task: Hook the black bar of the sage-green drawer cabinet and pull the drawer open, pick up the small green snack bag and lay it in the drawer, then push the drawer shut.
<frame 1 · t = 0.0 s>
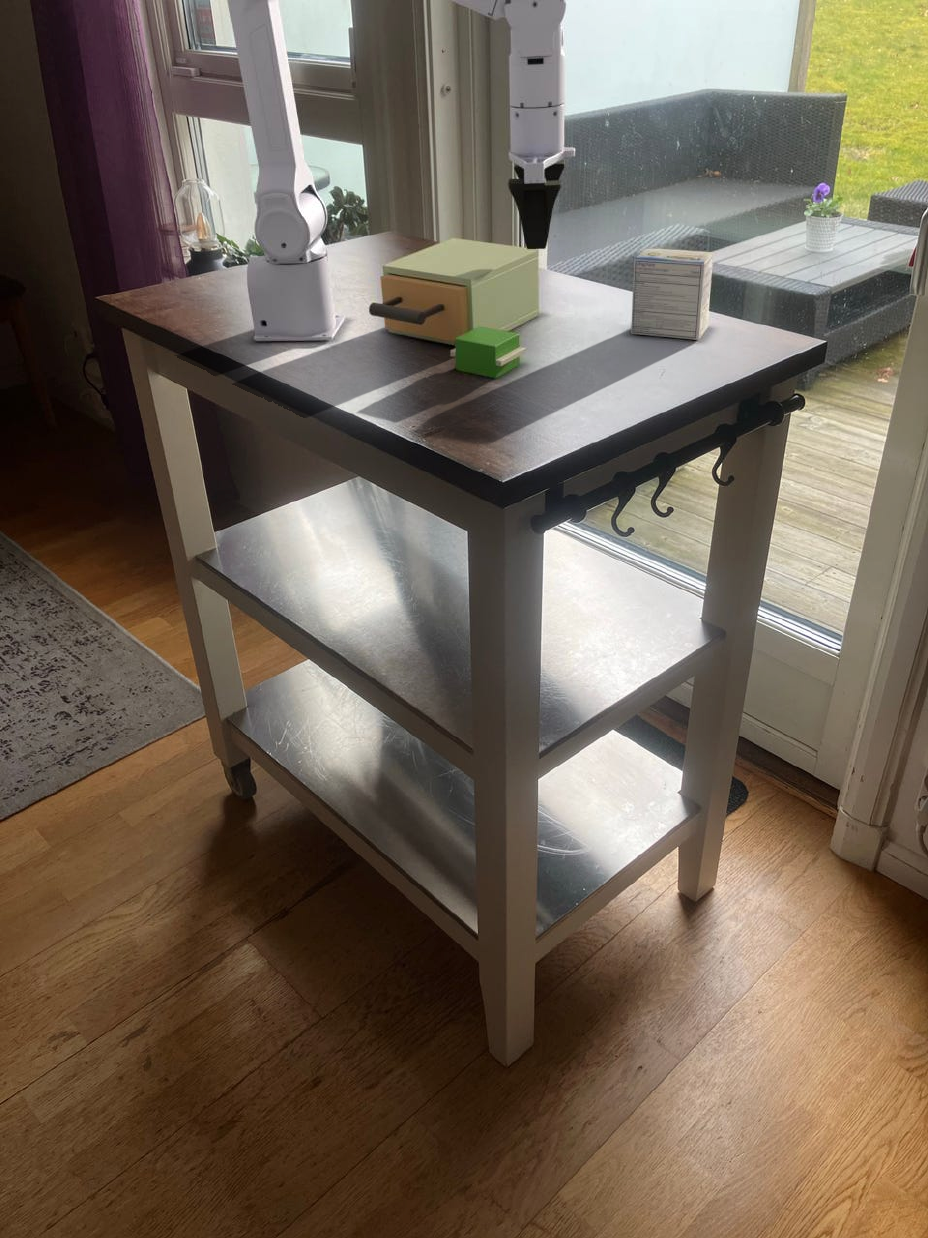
hand: (538, 239, 113), 10 cm above the table, tool pointing down, fingers open, 7 cm apart
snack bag: (488, 367, 109), on the table
medicine box: (668, 333, 115), on the table
drawer: (441, 300, 116), point 4 cm above the table, slide at 0.0 cm, touching cabinet
cabinet: (464, 323, 121), on the table
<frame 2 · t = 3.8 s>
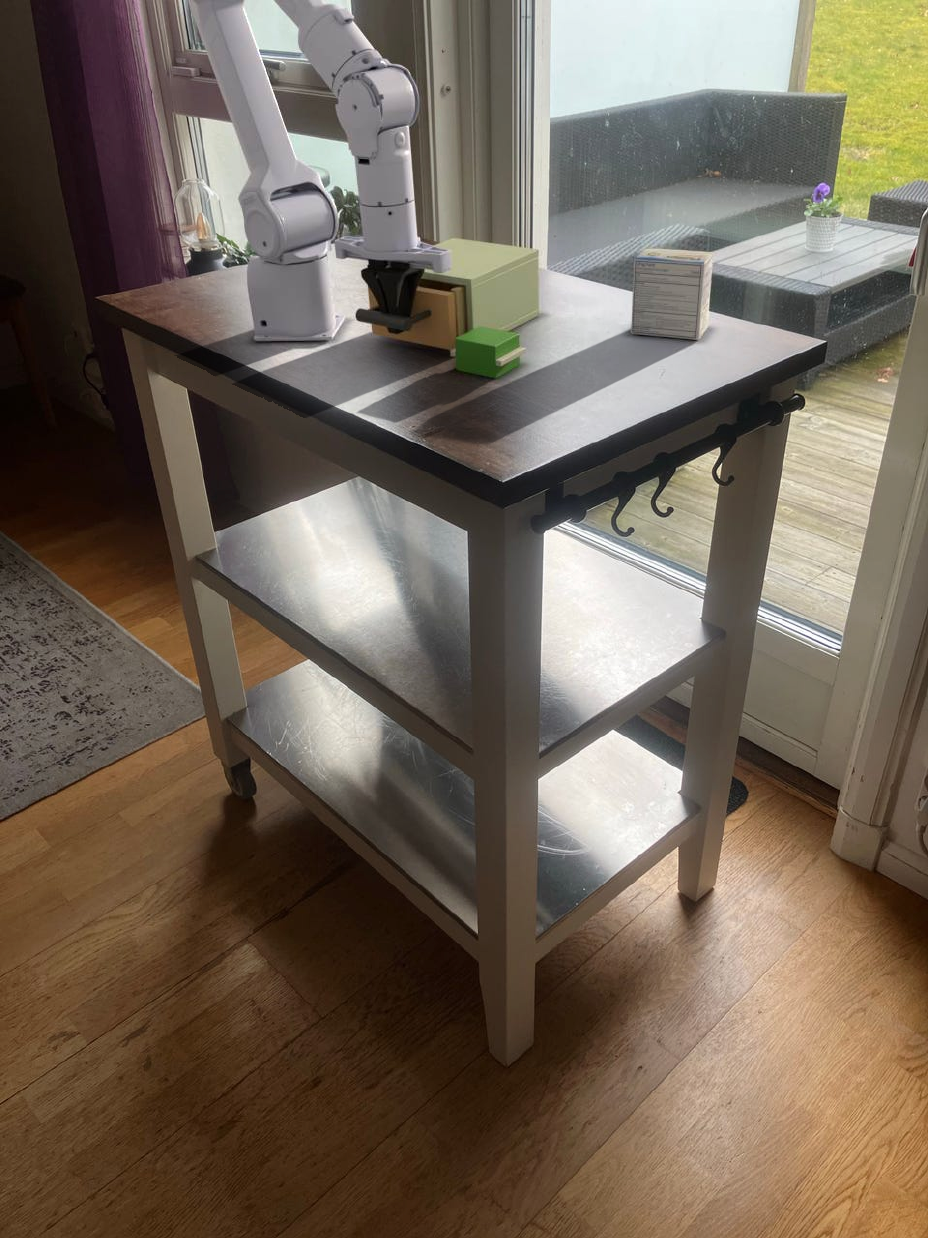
hand: (398, 330, 112), 3 cm above the table, tool pointing down, fingers closed, pressing on drawer
drawer: (429, 306, 115), point 4 cm above the table, slide at 2.3 cm, touching gripper
everything else where it was.
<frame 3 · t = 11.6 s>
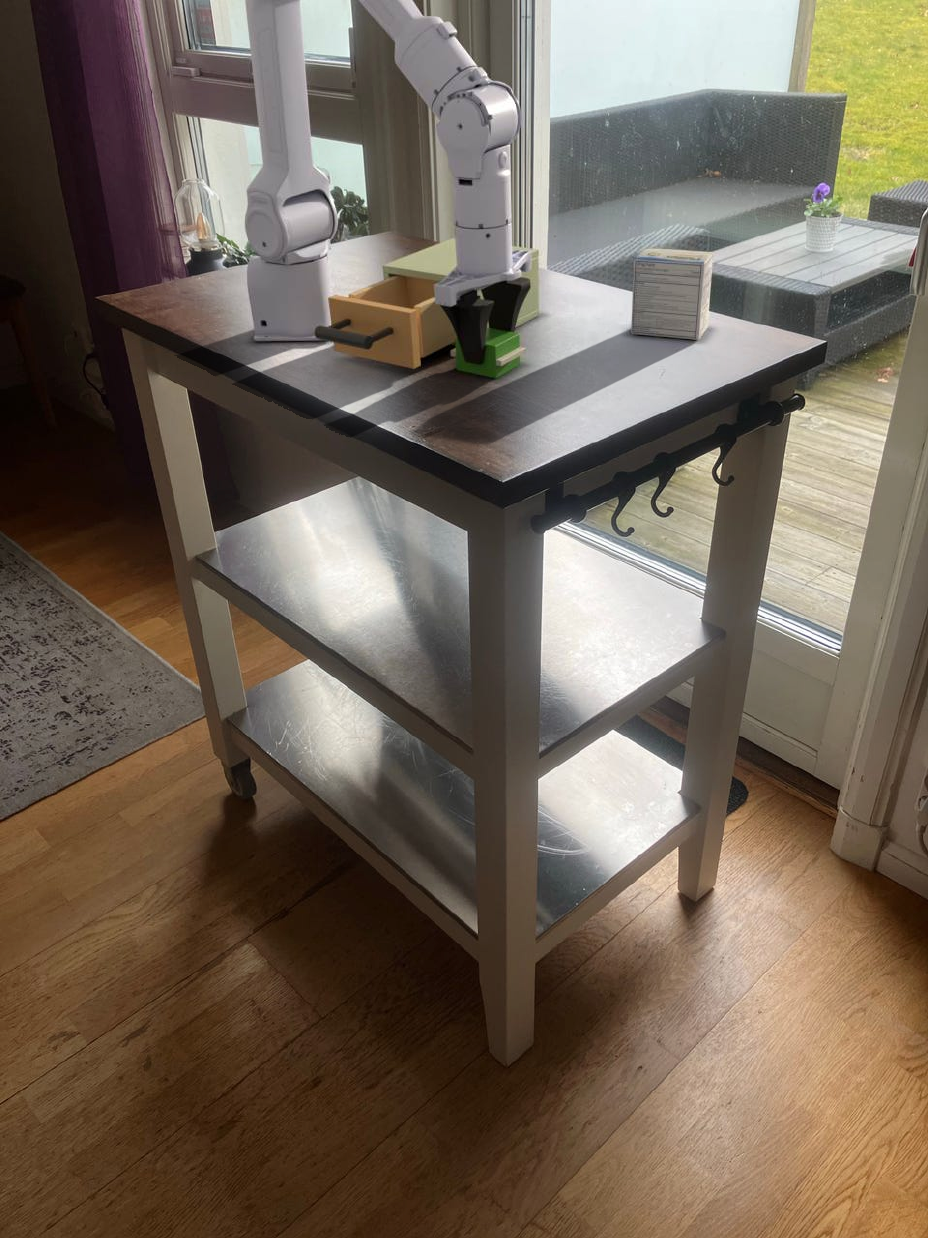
hand: (487, 354, 108), 1 cm above the table, tool pointing down, fingers closed on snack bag, 4 cm apart
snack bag: (488, 367, 109), on the table, touching gripper
drawer: (392, 322, 111), point 4 cm above the table, slide at 8.8 cm
everything else where it was.
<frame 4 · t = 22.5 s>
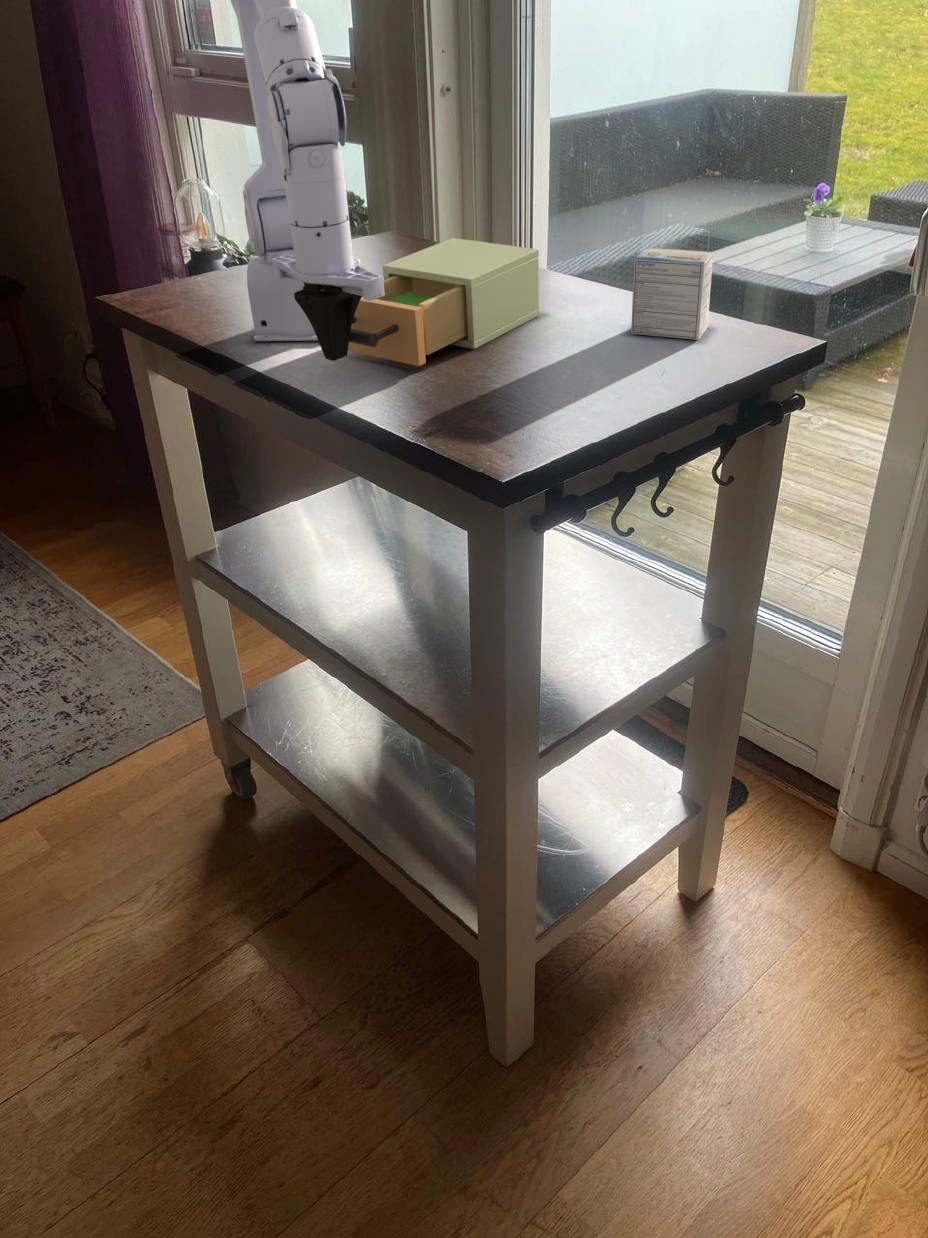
hand: (336, 357, 105), 3 cm above the table, tool pointing down, fingers closed
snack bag: (412, 331, 114), point 2 cm above the table, touching drawer
drawer: (397, 320, 111), point 4 cm above the table, slide at 7.9 cm, touching gripper, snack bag
everything else where it was.
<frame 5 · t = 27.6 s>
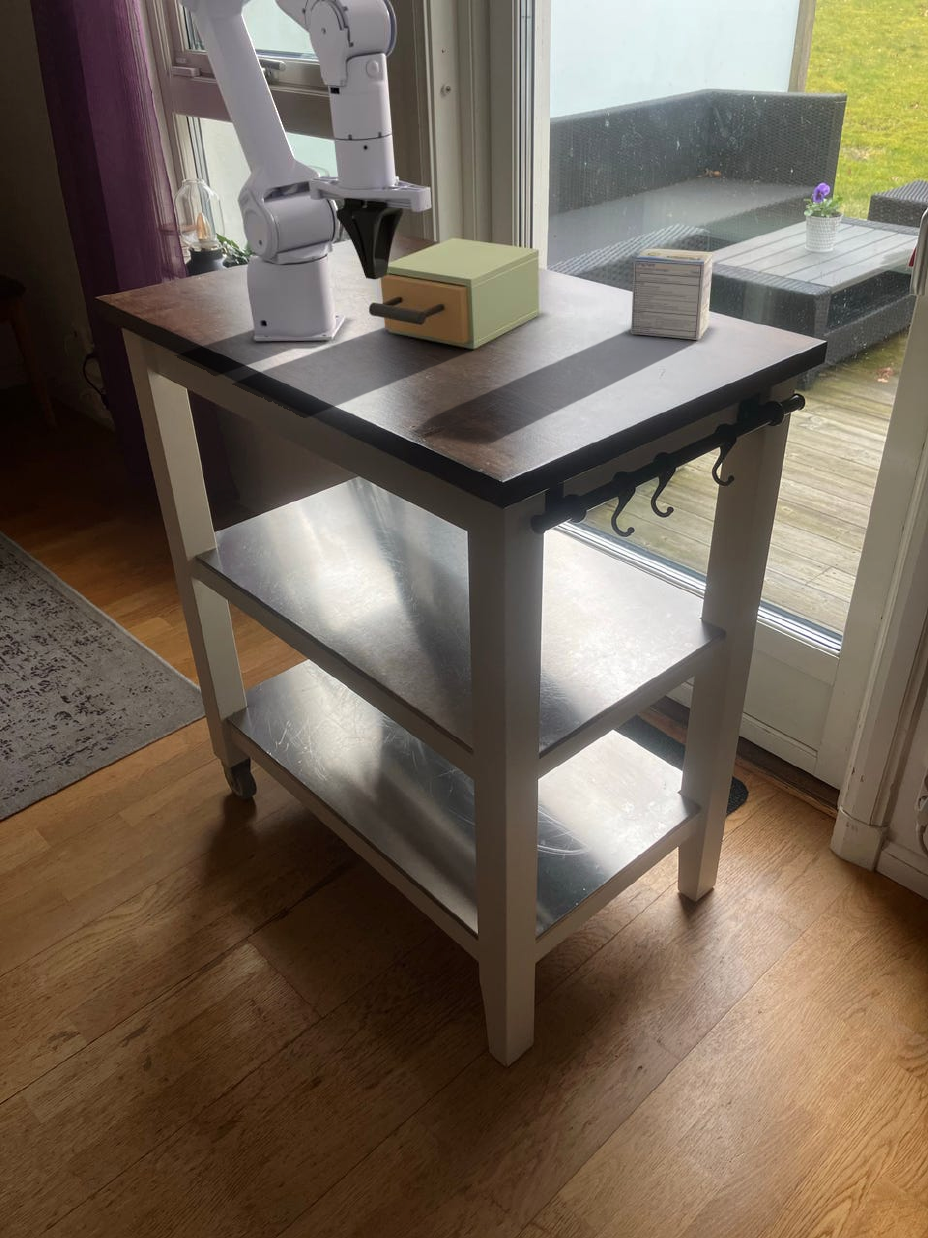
hand: (376, 276, 106), 9 cm above the table, tool pointing down, fingers closed
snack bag: (454, 311, 119), point 2 cm above the table, touching drawer
drawer: (441, 300, 116), point 4 cm above the table, slide at 0.0 cm, touching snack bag
everything else where it was.
at the end: drawer pulled out 9.0 cm at the most during the clip, back to where it started at the end; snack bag inside the target area in the cabinet (1.8 cm from its centre), point 2.0 cm above the cabinet's base; drawer slide at 0.0 cm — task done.
